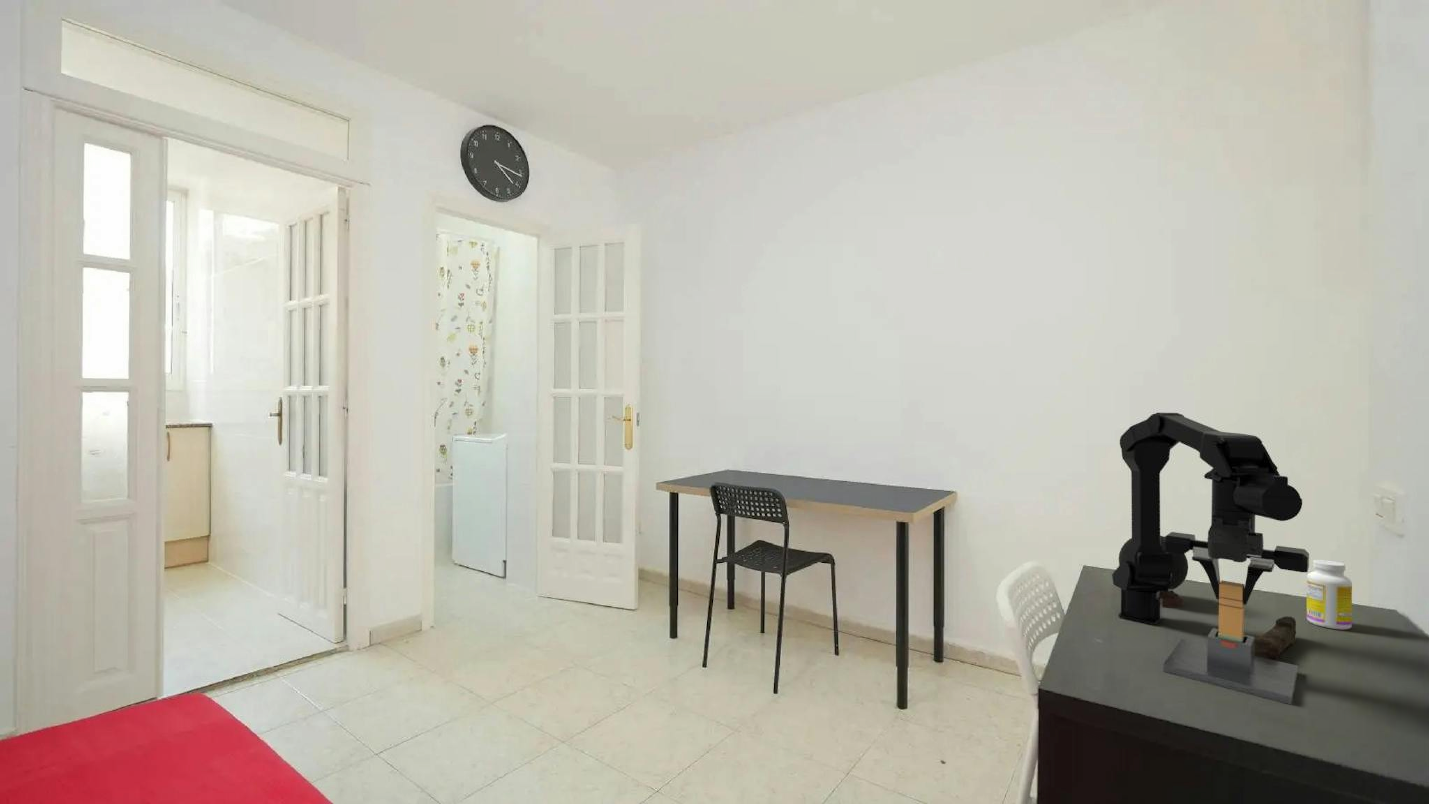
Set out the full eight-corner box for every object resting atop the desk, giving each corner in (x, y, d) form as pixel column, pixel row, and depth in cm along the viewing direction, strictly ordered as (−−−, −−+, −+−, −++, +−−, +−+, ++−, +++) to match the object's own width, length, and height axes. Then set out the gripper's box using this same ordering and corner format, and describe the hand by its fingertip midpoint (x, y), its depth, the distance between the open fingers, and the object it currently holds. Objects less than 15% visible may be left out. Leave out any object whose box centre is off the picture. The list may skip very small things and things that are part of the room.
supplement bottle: (1350, 624, 130) (1351, 562, 130) (1352, 633, 125) (1353, 568, 125) (1306, 616, 134) (1307, 556, 134) (1306, 624, 130) (1307, 562, 129)
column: (1218, 639, 107) (1218, 583, 106) (1220, 635, 109) (1221, 580, 109) (1241, 645, 104) (1242, 587, 104) (1244, 640, 106) (1244, 584, 106)
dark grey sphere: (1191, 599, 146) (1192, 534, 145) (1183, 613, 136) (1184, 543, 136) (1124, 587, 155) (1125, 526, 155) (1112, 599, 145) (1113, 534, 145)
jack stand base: (1163, 671, 107) (1163, 635, 107) (1181, 645, 118) (1181, 613, 118) (1291, 704, 95) (1292, 665, 95) (1297, 672, 106) (1298, 637, 106)
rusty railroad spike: (1277, 665, 110) (1277, 639, 110) (1248, 657, 113) (1249, 631, 113) (1311, 643, 121) (1311, 619, 120) (1283, 636, 124) (1284, 612, 124)
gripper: (1156, 507, 107) (1154, 599, 107) (1306, 524, 94) (1304, 628, 94) (1169, 500, 115) (1168, 585, 115) (1310, 514, 102) (1308, 611, 102)
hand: (1231, 601), depth 106 cm, fingers closed on column, 3 cm apart
